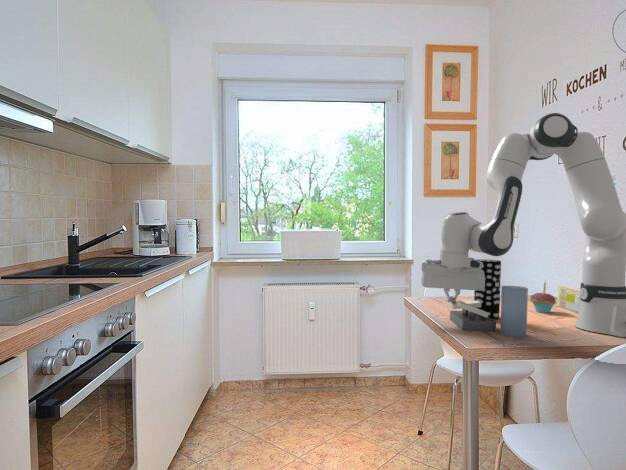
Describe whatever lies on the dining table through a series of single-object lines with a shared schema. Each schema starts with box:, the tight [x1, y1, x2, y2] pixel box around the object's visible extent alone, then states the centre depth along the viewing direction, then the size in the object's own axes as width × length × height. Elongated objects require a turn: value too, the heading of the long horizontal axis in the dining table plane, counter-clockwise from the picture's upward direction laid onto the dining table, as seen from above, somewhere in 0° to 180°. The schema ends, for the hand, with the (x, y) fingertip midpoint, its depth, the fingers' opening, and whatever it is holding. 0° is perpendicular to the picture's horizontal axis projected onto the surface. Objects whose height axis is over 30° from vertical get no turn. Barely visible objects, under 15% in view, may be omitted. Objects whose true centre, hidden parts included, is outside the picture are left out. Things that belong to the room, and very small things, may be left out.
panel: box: [449, 308, 497, 332], centre depth 133 cm, size 10×14×5 cm
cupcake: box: [529, 280, 557, 314], centre depth 155 cm, size 9×8×12 cm
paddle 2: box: [457, 300, 489, 318], centre depth 129 cm, size 9×4×2 cm, turn 86°
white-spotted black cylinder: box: [473, 258, 502, 321], centre depth 144 cm, size 8×8×20 cm
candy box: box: [556, 286, 581, 314], centre depth 158 cm, size 16×2×8 cm, turn 0°
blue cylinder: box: [500, 285, 529, 338], centre depth 122 cm, size 7×7×14 cm
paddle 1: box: [449, 300, 481, 310], centre depth 136 cm, size 9×4×2 cm, turn 87°
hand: (451, 302), depth 137 cm, fingers closed
